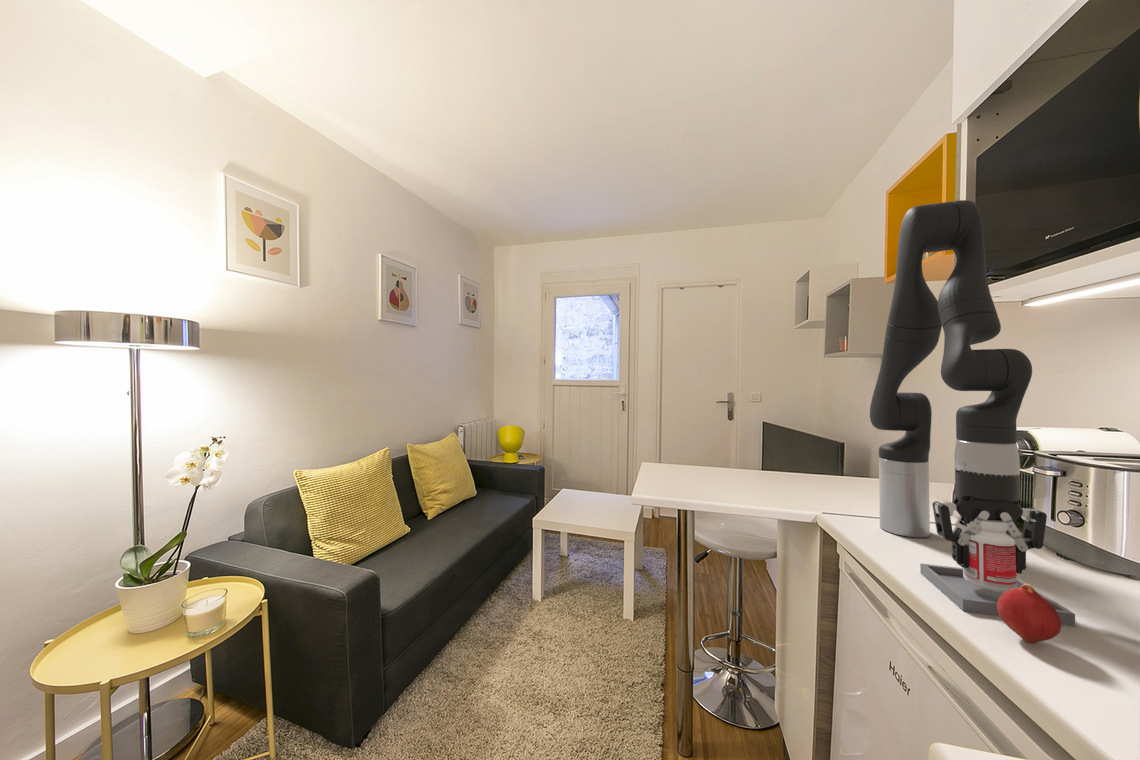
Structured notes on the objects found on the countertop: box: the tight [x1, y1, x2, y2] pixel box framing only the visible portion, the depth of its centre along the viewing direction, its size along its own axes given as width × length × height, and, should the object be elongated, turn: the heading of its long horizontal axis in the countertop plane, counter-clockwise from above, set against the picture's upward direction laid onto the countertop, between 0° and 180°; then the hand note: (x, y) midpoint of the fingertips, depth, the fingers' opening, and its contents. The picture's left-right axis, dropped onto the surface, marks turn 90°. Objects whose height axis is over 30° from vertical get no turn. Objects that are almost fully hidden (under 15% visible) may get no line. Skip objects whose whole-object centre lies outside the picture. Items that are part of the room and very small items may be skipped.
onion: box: [997, 583, 1063, 644], centre depth 55 cm, size 6×6×8 cm
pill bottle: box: [962, 520, 1017, 593], centre depth 66 cm, size 6×6×11 cm
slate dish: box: [919, 562, 1076, 627], centre depth 66 cm, size 13×13×2 cm
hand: (987, 568), depth 66 cm, fingers closed on pill bottle, 6 cm apart
